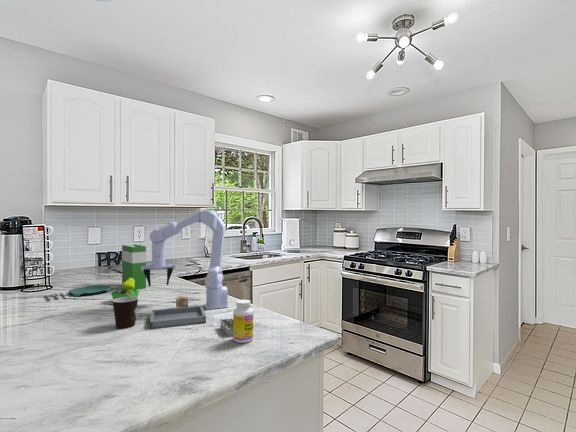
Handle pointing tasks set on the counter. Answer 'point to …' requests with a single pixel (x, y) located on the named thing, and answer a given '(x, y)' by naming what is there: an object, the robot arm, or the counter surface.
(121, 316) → the coffee mug
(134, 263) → the green cereal box
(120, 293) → the fruit basket
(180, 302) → the wooden cube
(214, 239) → the robot arm
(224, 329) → the grey lumpy block
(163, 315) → the tray
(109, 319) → the counter surface
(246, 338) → the supplement bottle
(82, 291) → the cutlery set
